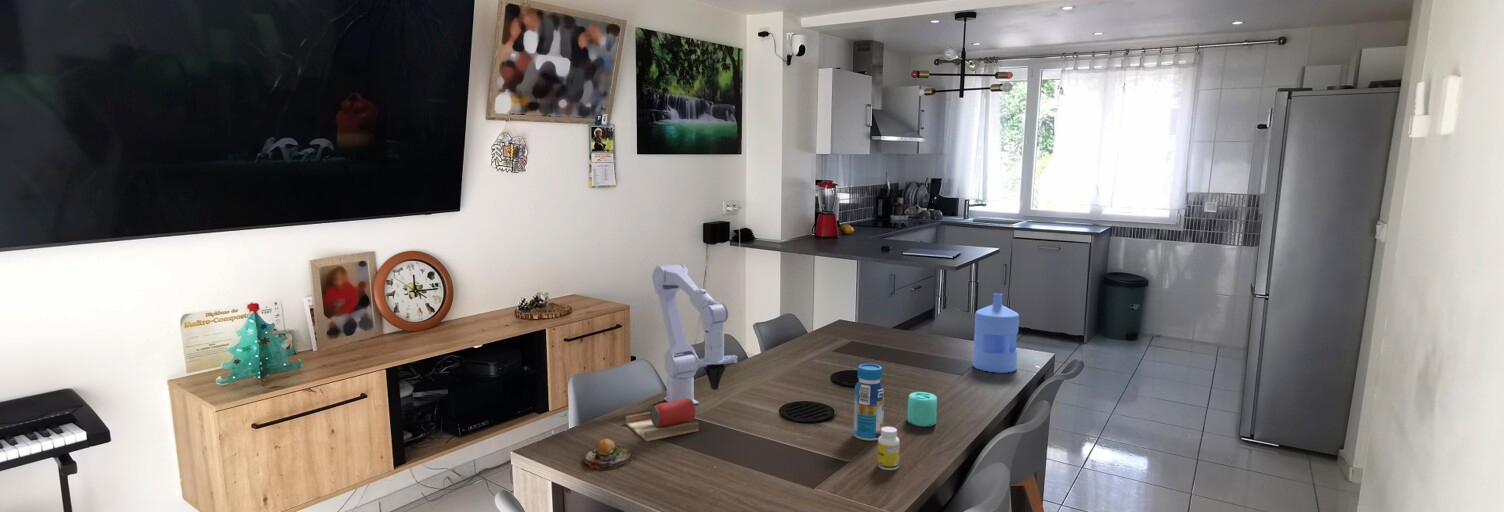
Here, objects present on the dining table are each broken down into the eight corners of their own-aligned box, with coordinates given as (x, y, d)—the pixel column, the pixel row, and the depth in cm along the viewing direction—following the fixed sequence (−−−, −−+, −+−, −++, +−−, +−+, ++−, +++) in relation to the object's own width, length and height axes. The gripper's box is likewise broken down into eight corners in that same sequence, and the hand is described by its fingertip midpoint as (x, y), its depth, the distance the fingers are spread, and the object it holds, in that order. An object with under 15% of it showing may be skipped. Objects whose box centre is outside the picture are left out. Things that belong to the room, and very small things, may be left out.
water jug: (964, 364, 285) (967, 291, 281) (999, 360, 289) (1003, 289, 286) (988, 375, 270) (992, 298, 266) (1025, 371, 274) (1029, 296, 271)
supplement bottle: (874, 462, 192) (875, 425, 191) (895, 461, 193) (896, 425, 191) (880, 471, 187) (881, 433, 186) (901, 470, 187) (902, 432, 186)
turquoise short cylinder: (936, 419, 225) (937, 393, 224) (935, 428, 217) (936, 401, 216) (908, 416, 227) (909, 390, 226) (907, 425, 219) (908, 398, 218)
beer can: (699, 413, 217) (661, 421, 210) (691, 424, 221) (654, 432, 215) (691, 393, 220) (654, 400, 214) (683, 404, 225) (647, 411, 218)
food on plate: (640, 457, 195) (640, 430, 194) (610, 474, 185) (609, 445, 184) (605, 448, 201) (605, 422, 200) (574, 464, 191) (573, 435, 190)
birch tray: (625, 423, 219) (625, 416, 219) (675, 414, 228) (675, 407, 227) (646, 441, 206) (646, 433, 206) (698, 430, 214) (698, 423, 214)
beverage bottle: (847, 432, 213) (849, 364, 210) (873, 429, 216) (875, 361, 213) (862, 443, 205) (863, 372, 202) (889, 439, 208) (891, 369, 205)
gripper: (698, 350, 215) (698, 396, 217) (742, 344, 222) (742, 388, 224) (687, 344, 221) (687, 389, 223) (731, 339, 229) (730, 382, 230)
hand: (714, 388), depth 224 cm, fingers closed
